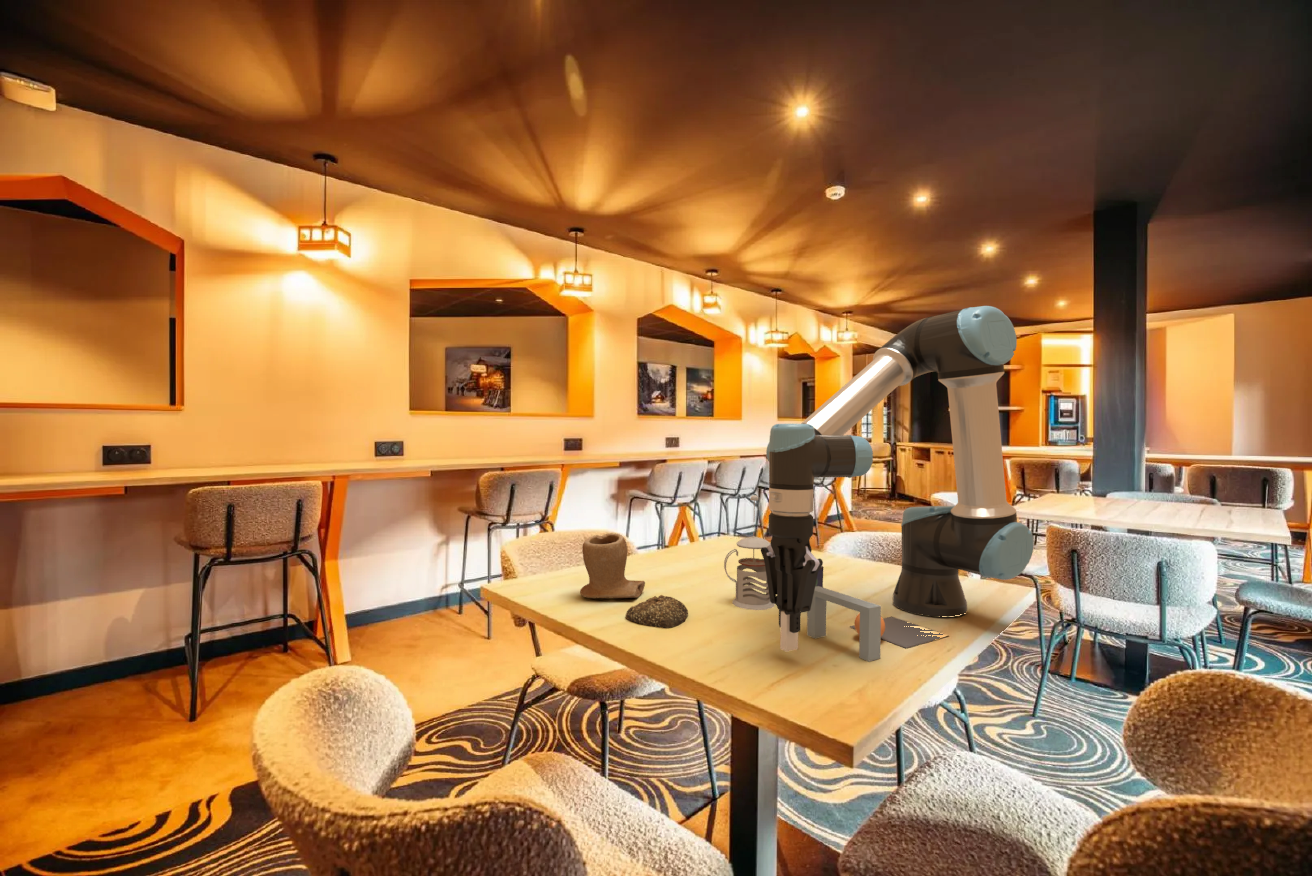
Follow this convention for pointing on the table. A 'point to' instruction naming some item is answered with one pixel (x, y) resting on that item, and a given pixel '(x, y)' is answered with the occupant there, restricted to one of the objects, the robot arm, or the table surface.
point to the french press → (746, 594)
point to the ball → (857, 624)
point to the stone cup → (608, 568)
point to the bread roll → (658, 612)
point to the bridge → (868, 611)
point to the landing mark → (904, 633)
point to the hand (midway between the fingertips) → (789, 648)
